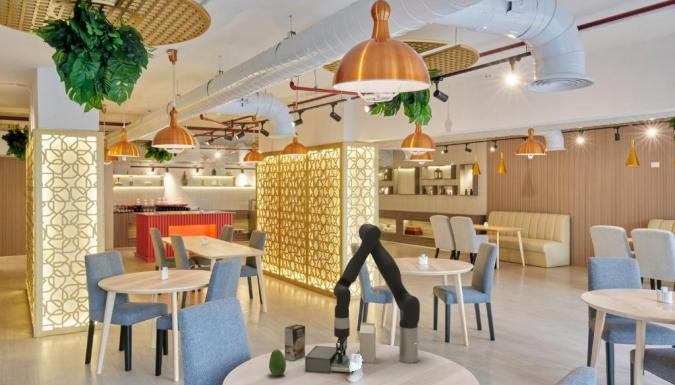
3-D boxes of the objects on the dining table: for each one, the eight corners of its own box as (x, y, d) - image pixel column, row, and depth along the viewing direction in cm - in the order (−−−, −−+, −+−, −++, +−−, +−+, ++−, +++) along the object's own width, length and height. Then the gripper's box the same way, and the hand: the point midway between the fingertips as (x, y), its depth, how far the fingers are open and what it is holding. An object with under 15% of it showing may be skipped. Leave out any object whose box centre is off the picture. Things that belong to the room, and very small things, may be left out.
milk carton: (373, 363, 264) (373, 325, 264) (359, 362, 266) (359, 324, 265) (375, 358, 271) (375, 321, 271) (361, 357, 273) (361, 320, 272)
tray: (358, 361, 264) (358, 349, 264) (351, 373, 247) (351, 360, 247) (335, 359, 267) (335, 347, 267) (326, 371, 250) (326, 358, 250)
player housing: (338, 361, 267) (338, 347, 267) (329, 373, 249) (329, 358, 249) (315, 359, 270) (315, 345, 270) (305, 371, 252) (305, 356, 252)
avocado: (270, 372, 251) (270, 347, 251) (286, 372, 251) (286, 347, 251) (267, 378, 243) (267, 352, 243) (284, 378, 243) (284, 352, 243)
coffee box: (293, 361, 267) (293, 329, 266) (284, 359, 270) (284, 327, 270) (305, 356, 274) (305, 325, 274) (296, 354, 278) (296, 323, 278)
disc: (349, 359, 259) (349, 355, 259) (346, 363, 254) (346, 358, 253) (337, 358, 261) (337, 354, 261) (334, 362, 255) (334, 358, 255)
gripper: (346, 330, 249) (346, 366, 249) (352, 322, 263) (352, 356, 263) (330, 329, 251) (330, 364, 251) (337, 321, 265) (337, 355, 265)
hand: (341, 360), depth 257 cm, fingers closed on disc, 6 cm apart
